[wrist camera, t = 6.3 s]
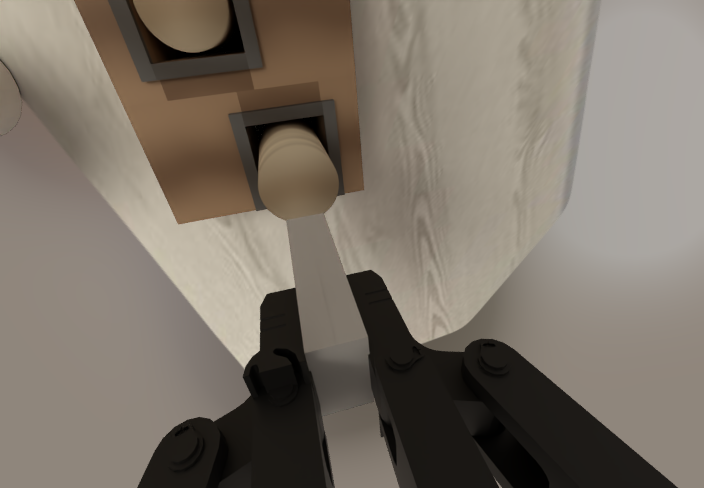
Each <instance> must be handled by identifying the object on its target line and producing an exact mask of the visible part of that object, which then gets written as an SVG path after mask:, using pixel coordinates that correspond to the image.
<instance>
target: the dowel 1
mask: <svg viewBox="0 0 704 488" xmlns="http://www.w3.org/2000/svg"><path fill="white" fill-rule="evenodd" d="M133 2H134V5H135V8H136V10H137V12H138V14H139V16H140V18H141V20H142V21H143V22H144V24H145V25H146V27H147V28H148V29H149V30H150V31H151V32H152V33H153V34H154V35H155V36H156V37H157V38H158V39H159V40H161V41H162V42H163V43H165V44H166V45H168V46H170V47H172V48H174V49H177V50H180V51H184V52H191V53H193V52H201V51H206V50H211V49H215V48H219V47H222V46H224V45H226V44H227V43H228V42H229V41H230V40H231V39H232V38H233V36H234V34H235V32H236V28H237V17H236V12H235V8H234V4H233V0H133Z"/></svg>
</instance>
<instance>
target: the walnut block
mask: <svg viewBox="0 0 704 488" xmlns="http://www.w3.org/2000/svg"><path fill="white" fill-rule="evenodd" d="M74 1H75V3H76V5H77V8H78V10H79V12H80V14H81V16H82V18H83V21H84V23H85V25H86V27H87V29H88V31H89V33H90V36H91V38H92V40H93V42H94V44H95V46H96V49H97V51H98V53H99V55H100V57H101V59H102V61H103V64H104V66H105V68H106V70H107V72H108V74H109V76H110V79H111V81H112V83H113V85H114V87H115V89H116V92H117V94H118V96H119V98H120V100H121V102H122V104H123V107H124V109H125V111H126V113H127V115H128V117H129V120H130V122H131V124H132V126H133V128H134V130H135V132H136V135H137V137H138V139H139V141H140V143H141V145H142V148H143V150H144V152H145V154H146V156H147V158H148V160H149V163H150V165H151V167H152V169H153V171H154V173H155V176H156V178H157V180H158V182H159V184H160V186H161V188H162V191H163V193H164V195H165V197H166V199H167V201H168V204H169V206H170V208H171V210H172V212H173V214H174V216H175V219H176V221H177V223H178V224H183V223H188V222H194V221H199V220H204V219H210V218H215V217H221V216H226V215H231V214H237V213H242V212H247V211H253V210H256V211H259V210H264V209H267V208H266V206H265V205H264V204H263V202H262V200H261V198H260V195H259V190H258V166H259V140H258V136H257V132H256V128H255V125H259V124H266V123H273V122H279V121H286V120H293V119H300V118H306V117H312V122H313V129H314V131H315V133H316V135H317V137H318V138H319V140H320V142H321V144H322V145H323V147H324V149H325V151H326V153H327V154H328V156H329V158H330V160H331V162H332V163H333V165H334V167H335V169H336V171H337V174H338V179H339V190H338V194H337V196H339V195H345V193H350V192H355V191H361V190H364V183H363V170H362V156H361V143H360V130H359V117H358V103H357V90H356V77H355V63H354V50H353V37H352V23H351V10H350V0H233V4H234V8H235V12H236V17H237V21H238V25H239V29H240V33H241V37H242V41H243V46H244V50H237V51H229V52H220V53H211V54H202V55H194V56H185V57H182V54H181V51H180V50H177V49H174V48H172V47H170V46H168V45H166V44H165V43H163V42H162V41H161V40H159V39H158V38H157V37H156V36H155V35H154V34H153V33H152V32H151V31H150V30H149V29H148V28H147V27H146V25H145V24H144V22H143V21H142V20H141V18H140V16H139V14H138V12H137V10H136V8H135V5H134V2H133V0H74Z"/></svg>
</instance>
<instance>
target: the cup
mask: <svg viewBox="0 0 704 488" xmlns="http://www.w3.org/2000/svg"><path fill="white" fill-rule="evenodd" d="M21 109H22V101H21V97H20V93H19V89H18V86H17V85H16V83H15V81H14V79H13V77H12V75H11V73H10V72H9V70H8V69H7V68H6V67H5V66H4V64H3V63H2V62H1V61H0V136H2V135H4V134H7V133H8V132H9V131H10V130H12V129H13V128H14V127H15V126H16V124H17V123H18V121H19V119H20V116H21Z"/></svg>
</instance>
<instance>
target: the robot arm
mask: <svg viewBox="0 0 704 488" xmlns="http://www.w3.org/2000/svg"><path fill="white" fill-rule="evenodd" d="M286 221H287V228H288V236H289V243H290V251H291V258H292V265H293V273H294V280H295V287H296V288H292V289H287V290H283V291H278V292H274V293H269V294H267V295H266V297H265V299H264V301H263V302H262V304H261V306H260V320H261V322H260V331H261V333H260V351H259V352H258V353H257V354H255V355H254V356H253V357H252V358H251V360H250V361H249V362H248V364H247V365H246V367H245V371H244V374H243V378H244V381H245V383H246V385H247V387H248V389H249V391H250V393H251V396H250V397H249V398H248V399H247V400H246V401H245V402H244V403H243V404H241V405H240V406H239V407H237V408H236V409H234V410H233V411H231V412H229V413H228V414H226V415H224V416H223V417H221V418H219V419H218V420H216V421H214V422H213V421H212V420H211V419H207V418H202V417H198V418H194V419H189V420H186V421H185V422H183V423H181V424H179V425H178V426H176V427H174V428H173V429H172V430H171V431H170V432H169V433H168V434H167V435H166V436H165V437H164V438H163V439H162V441H161V442H160V444H159V445H158V447H157V448H156V450H155V452H154V454H153V456H152V458H151V460H150V462H149V464H148V466H147V468H146V470H145V473H144V475H143V477H142V479H141V481H140V483H139V485H138V487H137V488H335V486H334V480H333V474H332V468H331V462H330V456H329V451H328V444H327V439H326V435H325V431H324V426H323V421H322V416H326V415H329V414H333V413H336V412H339V411H343V410H347V409H350V408H354V407H357V406H361V405H364V404H368V403H371V402H374V398H375V401H376V405H377V408H378V411H379V420H380V433H381V437H384V438H385V441H386V445H387V448H388V451H389V454H390V458H391V461H392V464H393V468H394V471H395V474H396V477H397V481H398V484H399V487H400V488H499V486H498V485H497V483H496V481H495V479H496V480H497V481H498V483H499V484H500V485H501V487H502V488H678V487H676V486H675V485H674V484H673V483H672V482H671V481H669V480H668V479H667V478H666V477H665V476H663V475H662V474H661V473H660V472H659V471H657V470H656V469H655V468H654V467H653V466H652V465H650V464H649V463H648V462H647V461H646V460H644V459H643V458H642V457H641V456H640V455H639V454H637V453H636V452H635V451H634V450H632V449H631V448H630V447H629V446H628V445H627V444H625V443H624V442H623V441H622V440H621V439H620V438H618V437H617V436H616V435H615V434H614V433H612V432H611V431H610V430H609V429H608V428H606V427H605V426H604V425H603V424H602V423H601V422H599V421H598V420H597V419H596V418H595V417H593V416H592V415H591V414H590V413H589V412H588V411H586V410H585V409H584V408H583V407H582V406H580V405H579V404H578V403H577V402H576V401H574V400H573V399H572V398H571V397H570V396H569V395H567V394H566V393H565V392H564V391H563V390H561V389H560V388H559V387H558V386H557V385H556V384H554V383H553V382H552V381H551V380H550V379H549V378H547V377H546V376H545V375H544V374H543V373H541V372H540V371H539V370H538V369H537V368H535V367H534V366H533V365H532V364H531V363H529V362H528V361H527V360H526V359H525V358H524V357H522V356H521V355H520V354H519V353H518V352H517V351H515V350H514V349H513V348H511V347H510V346H508V345H506V344H505V343H503V342H500V341H497V340H493V339H479V340H476V341H473V342H471V343H470V344H469V345H468V346H467V347H466V348H465V352H445V351H436V350H432V349H429V348H426V347H424V346H423V345H421V344H420V343H418V342H417V341H416V340H415V339H414V338H413V337H412V335H411V334H410V332H409V330H408V328H407V326H406V324H405V322H404V320H403V319H402V317H401V315H400V313H399V311H398V309H397V307H396V305H395V303H394V301H393V300H392V297H391V295H390V293H389V291H388V290H387V287H386V285H385V283H384V281H383V279H382V277H380V276H379V275H378V274H376V273H375V272H374V271H372V270H368V271H363V272H359V273H354V274H350V275H346V274H345V271H344V269H343V266H342V263H341V260H340V258H339V255H338V252H337V249H336V246H335V244H334V241H333V238H332V235H331V233H330V230H329V227H328V224H327V221H326V219H325V216H324V213H320V214H315V215H310V216H304V217H299V218H294V219H289V220H286ZM493 476H494V477H493ZM494 478H495V479H494Z"/></svg>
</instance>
